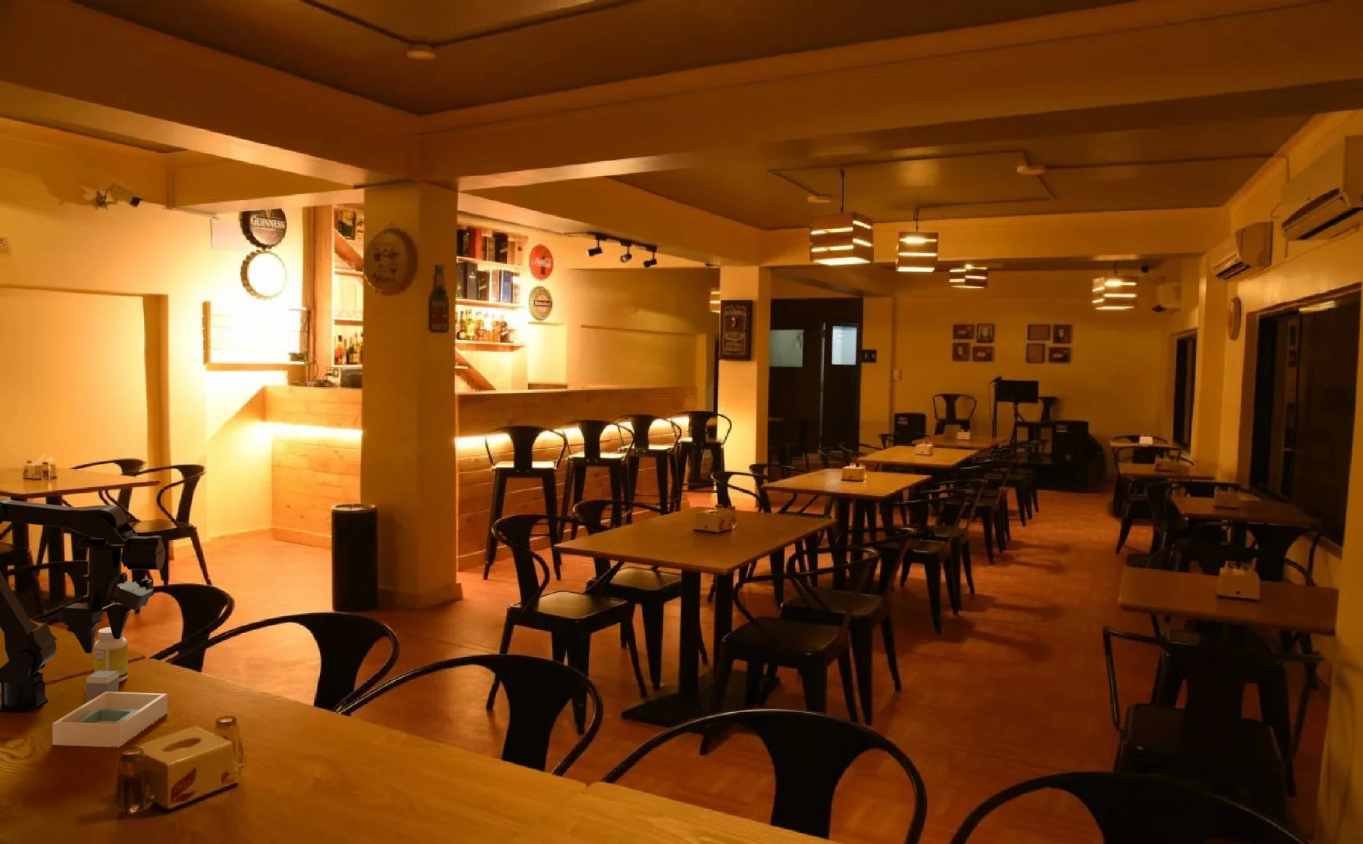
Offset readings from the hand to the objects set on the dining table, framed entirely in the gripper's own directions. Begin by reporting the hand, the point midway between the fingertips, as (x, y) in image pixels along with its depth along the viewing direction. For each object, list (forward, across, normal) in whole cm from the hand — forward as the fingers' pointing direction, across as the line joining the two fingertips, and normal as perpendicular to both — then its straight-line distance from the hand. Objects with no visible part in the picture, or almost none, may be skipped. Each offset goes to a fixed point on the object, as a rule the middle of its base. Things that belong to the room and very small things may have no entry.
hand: (103, 646), depth 187 cm
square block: (+12, 0, 0) cm, 12 cm away
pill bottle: (+12, +13, +6) cm, 19 cm away
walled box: (+12, -12, -9) cm, 19 cm away
